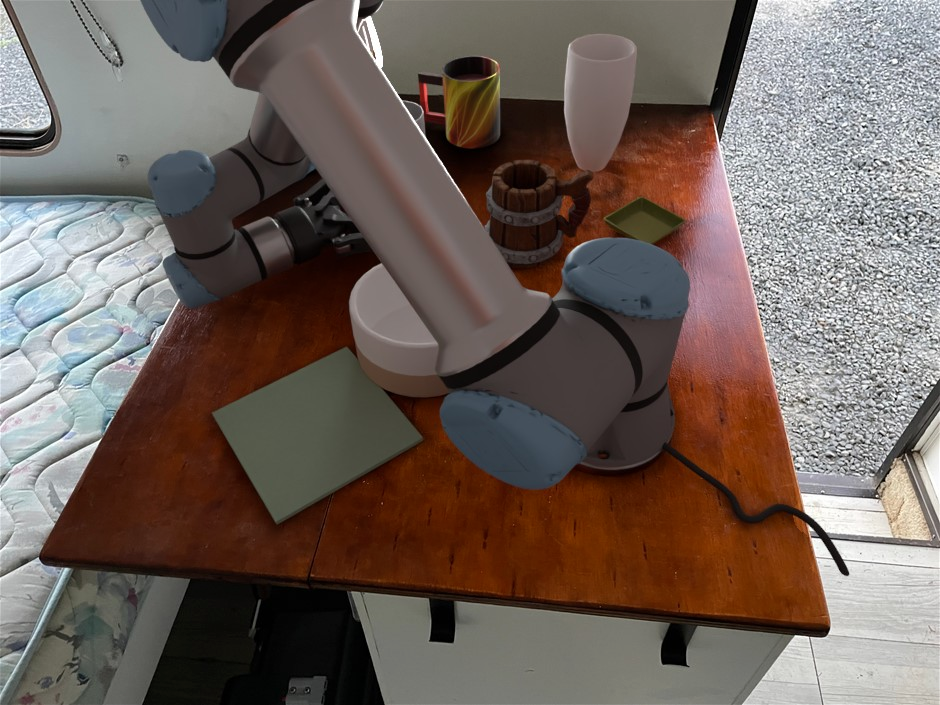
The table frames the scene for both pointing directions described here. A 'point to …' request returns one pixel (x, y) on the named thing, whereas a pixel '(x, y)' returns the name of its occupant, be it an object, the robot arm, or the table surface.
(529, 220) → the mug
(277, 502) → the mat
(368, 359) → the bowl
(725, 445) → the table surface
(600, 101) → the cup
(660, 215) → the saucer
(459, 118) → the mug
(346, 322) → the table surface
